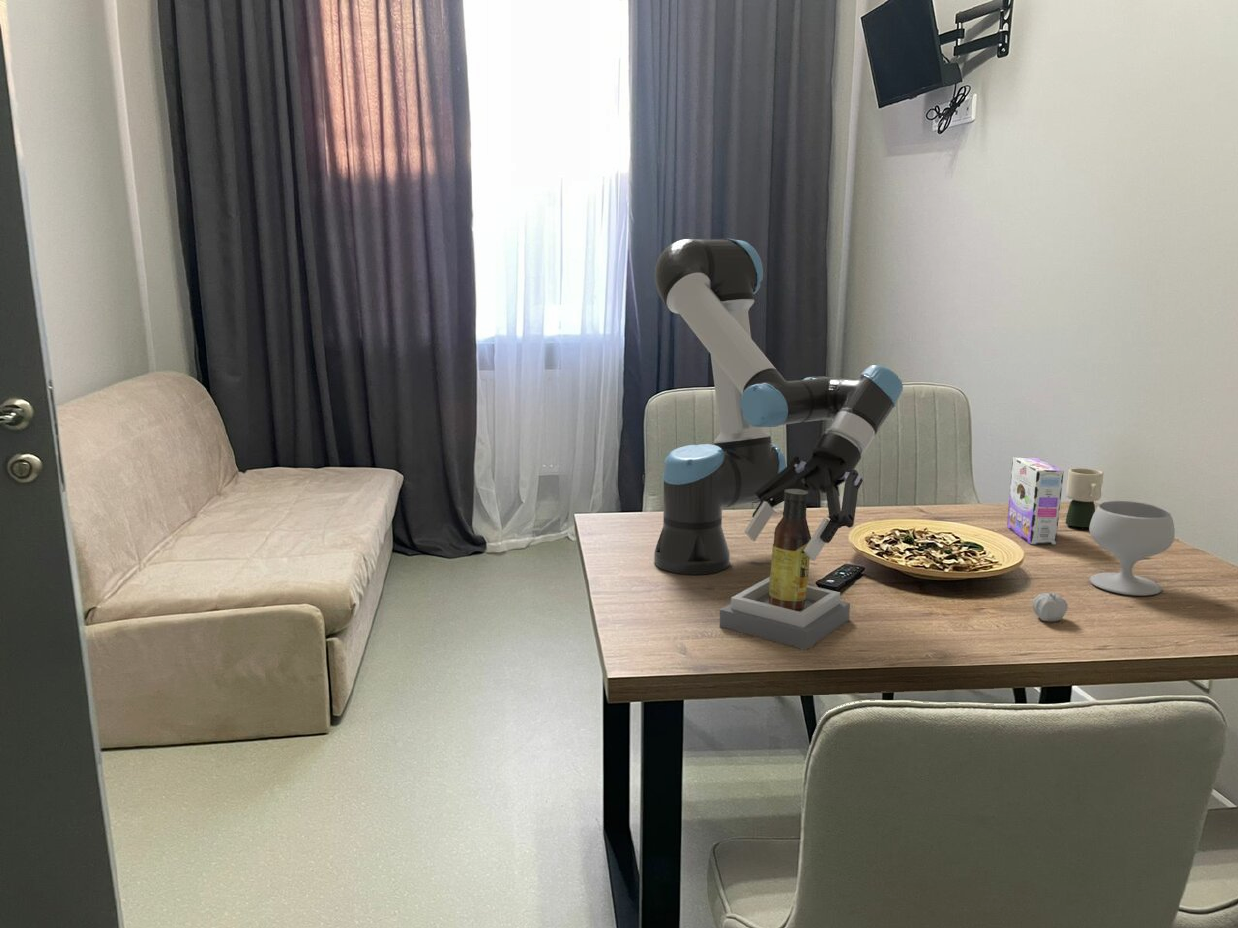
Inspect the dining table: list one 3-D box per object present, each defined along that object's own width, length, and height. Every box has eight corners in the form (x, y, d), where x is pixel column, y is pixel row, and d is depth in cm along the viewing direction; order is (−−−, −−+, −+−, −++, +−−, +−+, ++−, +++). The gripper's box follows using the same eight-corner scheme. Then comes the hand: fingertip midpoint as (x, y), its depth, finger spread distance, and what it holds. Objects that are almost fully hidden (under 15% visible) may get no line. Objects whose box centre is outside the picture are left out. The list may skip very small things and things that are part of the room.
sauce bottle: (804, 614, 159) (816, 498, 155) (766, 609, 160) (776, 494, 156) (805, 600, 165) (816, 488, 161) (768, 596, 166) (778, 485, 162)
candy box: (1057, 545, 206) (1065, 470, 202) (1029, 545, 206) (1036, 470, 202) (1031, 527, 219) (1038, 456, 216) (1005, 527, 219) (1011, 456, 216)
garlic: (1064, 628, 161) (1067, 598, 160) (1029, 622, 164) (1032, 593, 163) (1067, 616, 166) (1070, 587, 165) (1033, 610, 169) (1036, 582, 168)
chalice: (1085, 569, 190) (1093, 496, 187) (1166, 580, 184) (1176, 504, 181) (1081, 591, 178) (1090, 513, 175) (1168, 604, 172) (1179, 523, 169)
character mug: (1106, 534, 214) (1113, 477, 211) (1074, 533, 214) (1080, 476, 211) (1085, 520, 224) (1091, 466, 222) (1054, 520, 225) (1059, 465, 222)
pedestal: (719, 626, 162) (720, 598, 161) (766, 599, 174) (767, 572, 173) (806, 649, 153) (807, 620, 151) (849, 619, 165) (850, 591, 164)
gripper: (912, 470, 157) (847, 577, 152) (798, 446, 176) (736, 540, 171) (894, 442, 153) (826, 551, 147) (779, 421, 172) (715, 516, 166)
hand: (778, 546), depth 159 cm, fingers open, 13 cm apart
